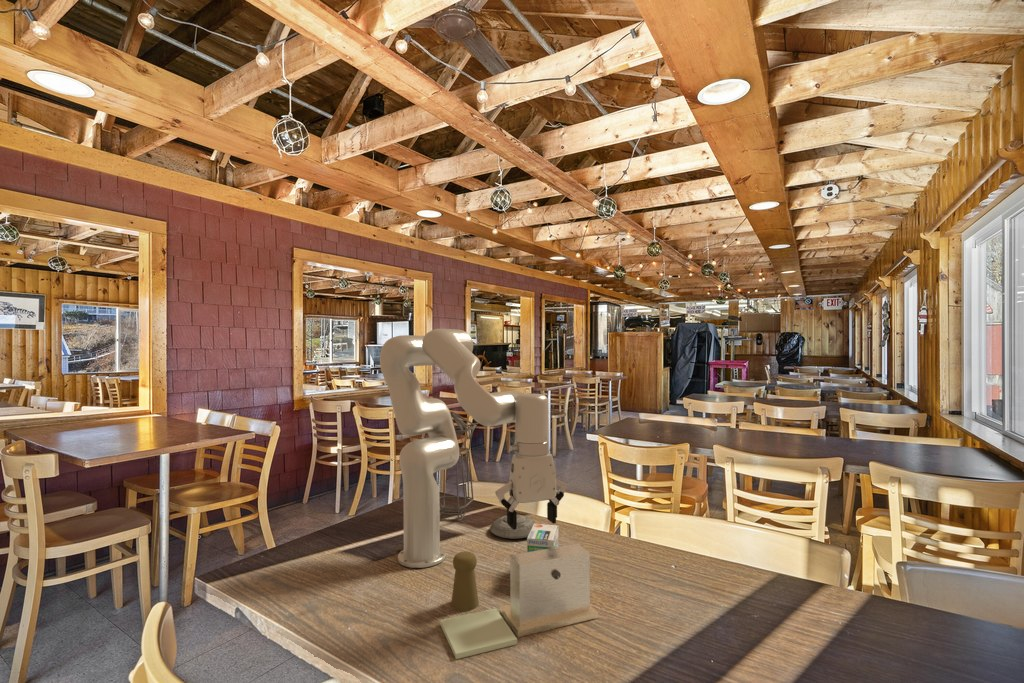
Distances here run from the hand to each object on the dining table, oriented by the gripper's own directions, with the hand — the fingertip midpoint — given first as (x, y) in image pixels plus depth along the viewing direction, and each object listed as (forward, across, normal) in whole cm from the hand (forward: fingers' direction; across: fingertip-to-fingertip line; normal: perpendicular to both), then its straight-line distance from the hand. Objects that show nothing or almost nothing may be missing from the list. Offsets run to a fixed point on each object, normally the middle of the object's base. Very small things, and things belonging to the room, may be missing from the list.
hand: (532, 524), depth 112 cm
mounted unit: (+16, 0, -8) cm, 18 cm away
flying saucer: (+17, +11, +38) cm, 43 cm away
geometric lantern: (+16, -3, +60) cm, 62 cm away
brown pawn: (+16, -15, +3) cm, 22 cm away
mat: (+16, -16, -9) cm, 25 cm away
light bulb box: (+17, +7, +9) cm, 20 cm away
